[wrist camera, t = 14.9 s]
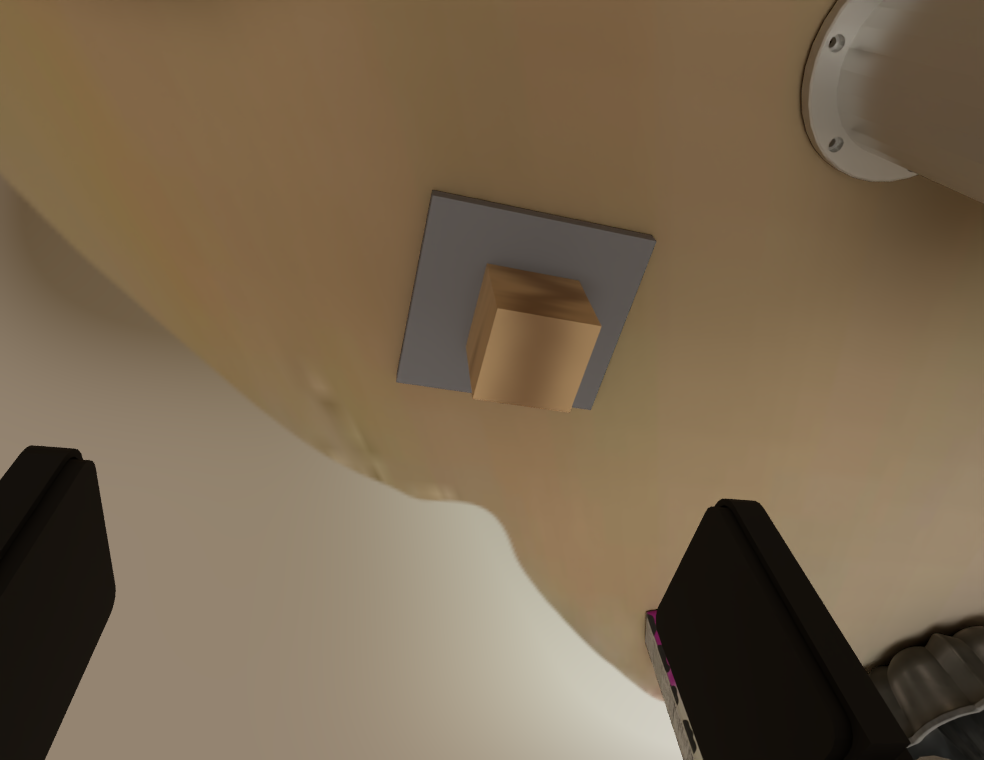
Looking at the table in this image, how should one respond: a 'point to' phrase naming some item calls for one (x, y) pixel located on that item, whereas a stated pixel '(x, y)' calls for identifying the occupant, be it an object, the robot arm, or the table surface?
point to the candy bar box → (670, 692)
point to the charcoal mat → (520, 245)
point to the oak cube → (530, 339)
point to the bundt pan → (938, 695)
